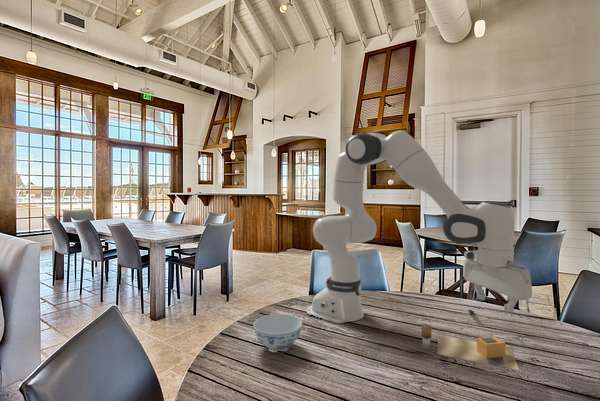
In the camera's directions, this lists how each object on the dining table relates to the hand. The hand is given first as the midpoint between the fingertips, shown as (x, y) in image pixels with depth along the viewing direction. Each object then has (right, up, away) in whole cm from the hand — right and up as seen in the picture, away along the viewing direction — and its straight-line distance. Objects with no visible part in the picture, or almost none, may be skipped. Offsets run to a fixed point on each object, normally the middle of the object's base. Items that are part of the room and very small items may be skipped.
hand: (494, 305), depth 93 cm
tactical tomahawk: (+10, -15, +25) cm, 31 cm away
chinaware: (-63, -16, +7) cm, 66 cm away
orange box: (-1, -14, 0) cm, 14 cm away
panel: (-5, -15, +2) cm, 16 cm away
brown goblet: (-18, -15, +4) cm, 24 cm away
